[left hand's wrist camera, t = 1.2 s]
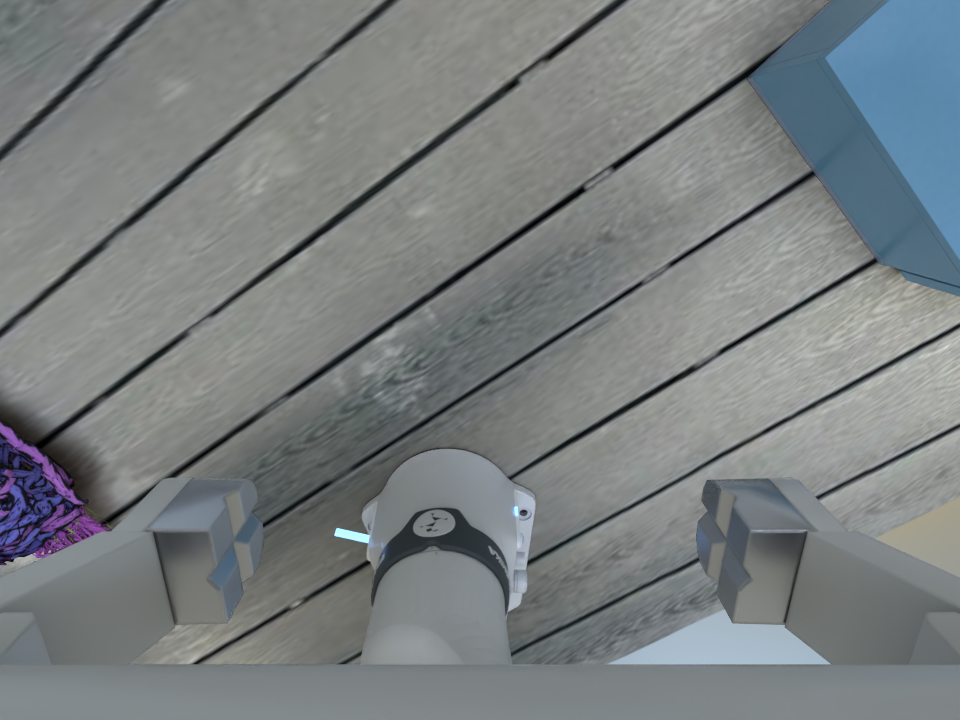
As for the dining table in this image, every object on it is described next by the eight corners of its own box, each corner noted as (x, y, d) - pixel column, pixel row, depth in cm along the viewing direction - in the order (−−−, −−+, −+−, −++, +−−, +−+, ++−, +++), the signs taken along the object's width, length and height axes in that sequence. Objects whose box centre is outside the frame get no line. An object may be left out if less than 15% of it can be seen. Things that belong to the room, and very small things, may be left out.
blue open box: (988, 179, 50) (1126, 187, 39) (879, 264, 53) (981, 293, 42) (860, -28, 45) (980, -83, 34) (746, 78, 47) (824, 57, 37)
